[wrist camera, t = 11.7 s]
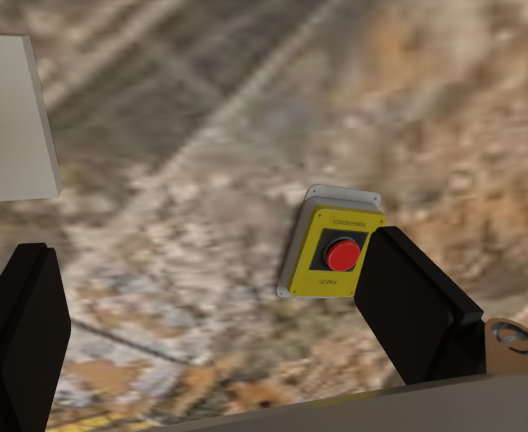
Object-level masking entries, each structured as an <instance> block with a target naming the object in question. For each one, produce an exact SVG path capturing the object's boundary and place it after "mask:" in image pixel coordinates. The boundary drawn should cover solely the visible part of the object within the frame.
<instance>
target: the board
mask: <svg viewBox="0 0 528 432" xmlns="http://www.w3.org/2000/svg"><path fill="white" fill-rule="evenodd" d="M62 189H63V184H62V180H61V175H60V171H59V166H58V162H57V157H56V153H55V148H54V144H53V139H52V135H51V130H50V126H49V121H48V117H47V112H46V108H45V103H44V99H43V94H42V90H41V85H40V81H39V76H38V72H37V67H36V63H35V58H34V54H33V49H32V45H31V40H30V36H29V35H19V34H0V201H11V200H27V199H43V198H59V196H60V194H61V192H62Z"/></svg>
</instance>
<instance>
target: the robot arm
mask: <svg viewBox="0 0 528 432" xmlns="http://www.w3.org/2000/svg"><path fill="white" fill-rule="evenodd" d="M354 301H355V304H356V306H357V308H358V309H359V311H360V313H361V314H362V316H363V317H364V319H365V321H366V322H367V324H368V325H369V327H370V328H371V330H372V332H373V333H374V335H375V336H376V338H377V340H378V341H379V343H380V344H381V346H382V347H383V349H384V351H385V352H386V354H387V355H388V357H389V359H390V360H391V362H392V363H393V365H394V366H395V368H396V370H397V371H398V373H399V374H400V376H401V378H402V379H403V381H404V382H405V384H406V385H405V386H399V387H393V388H386V389H380V390H374V391H368V392H362V393H356V394H350V395H344V396H338V397H332V398H326V399H320V400H314V401H308V402H302V403H296V404H290V405H284V406H279V407H273V408H267V409H261V410H255V411H249V412H243V413H238V414H232V415H226V416H220V417H215V418H209V419H203V420H197V421H192V422H186V423H180V424H175V425H169V426H163V427H157V428H152V429H146V430H140V431H135V432H528V328H526V327H525V326H523V325H521V324H519V323H517V322H514V321H512V320H508V319H504V318H493V319H489V320H488V321H487V322H486V323H484V322H483V321H482V320H481V317H482V315H483V313H484V311H483V310H482V309H481V308H480V307H479V306H478V305H477V304H476V303H475V302H474V301H473V300H472V299H471V298H470V297H469V296H468V295H467V294H466V293H465V292H464V291H462V290H461V289H460V288H459V287H458V286H457V285H456V284H455V283H454V282H453V281H452V280H451V279H450V278H449V277H448V276H447V275H446V274H445V273H444V272H443V271H442V270H441V269H440V268H439V267H438V266H437V265H436V264H435V263H434V262H433V261H432V260H431V259H430V258H429V257H428V256H427V255H426V254H425V253H424V252H423V251H422V250H420V249H419V248H418V247H417V246H416V245H415V244H414V243H413V242H412V241H411V240H410V239H409V238H408V237H407V236H406V235H405V234H404V233H403V232H402V231H401V230H400V229H399V228H398V227H396V226H386V227H378V228H377V229H376V230H375V231H374V232H372V233H371V236H370V239H369V243H368V246H367V250H366V254H365V257H364V261H363V264H362V268H361V272H360V275H359V279H358V282H357V286H356V290H355V293H354ZM70 334H71V320H70V316H69V311H68V307H67V302H66V297H65V293H64V288H63V284H62V279H61V275H60V270H59V265H58V261H57V256H56V252H55V249H54V248H47V245H46V244H45V243H25V244H19V245H18V246H17V248H16V249H15V251H14V253H13V255H12V256H11V258H10V260H9V262H8V263H7V265H6V267H5V269H4V270H3V272H2V274H1V276H0V432H45V429H46V425H47V421H48V417H49V414H50V410H51V406H52V402H53V399H54V395H55V391H56V387H57V383H58V380H59V376H60V372H61V368H62V365H63V361H64V357H65V353H66V350H67V346H68V342H69V338H70Z"/></svg>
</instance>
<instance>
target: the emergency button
mask: <svg viewBox="0 0 528 432" xmlns="http://www.w3.org/2000/svg"><path fill="white" fill-rule="evenodd" d="M380 200H381V197H380V194H378V193H377V192H371V191H364V190H357V189H350V188H342V187H335V186H328V185H321V184H315V185H313V186H311V187H310V188H309V189H308V191H307V193H306V197H305V200H304V203H303V206H302V209H301V212H300V216H299V219H298V222H297V225H296V228H295V231H294V235H293V238H292V241H291V244H290V247H289V250H288V254H287V257H286V260H285V263H284V266H283V269H282V273H281V276H280V279H279V282H278V285H277V288H276V293H277V295H278V296H279V297H288V298H338V297H352V296H353V295H354V293H355V290H356V286H357V282H358V279H359V275H360V272H361V268H362V264H363V261H364V257H365V254H366V250H367V246H368V243H369V239H370V236H371V233H372V232H374V231H375V230H376V229H377V228H378V227H385V224H386V220H387V219H386V217H385V216H384V214H383V213H382V212H381V211H380V210H379V209H378V206H379V204H380Z"/></svg>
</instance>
